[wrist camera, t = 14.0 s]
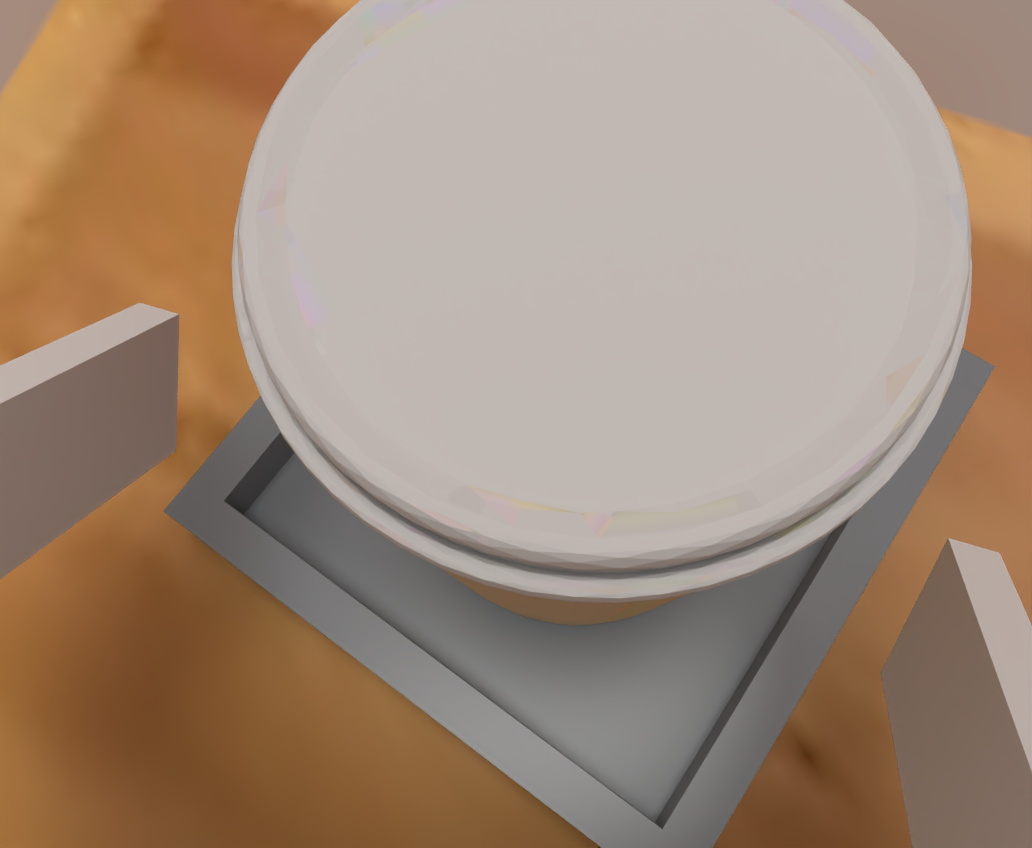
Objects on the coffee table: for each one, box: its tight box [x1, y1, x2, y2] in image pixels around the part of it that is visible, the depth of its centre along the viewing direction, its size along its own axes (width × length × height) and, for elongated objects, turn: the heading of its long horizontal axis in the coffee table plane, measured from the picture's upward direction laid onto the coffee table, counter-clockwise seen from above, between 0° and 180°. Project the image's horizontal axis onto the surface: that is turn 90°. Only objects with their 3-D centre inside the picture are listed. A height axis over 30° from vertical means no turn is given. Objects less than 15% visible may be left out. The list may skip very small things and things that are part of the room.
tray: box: [164, 348, 995, 848], centre depth 22 cm, size 14×14×2 cm
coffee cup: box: [232, 0, 972, 625], centre depth 16 cm, size 9×9×12 cm
